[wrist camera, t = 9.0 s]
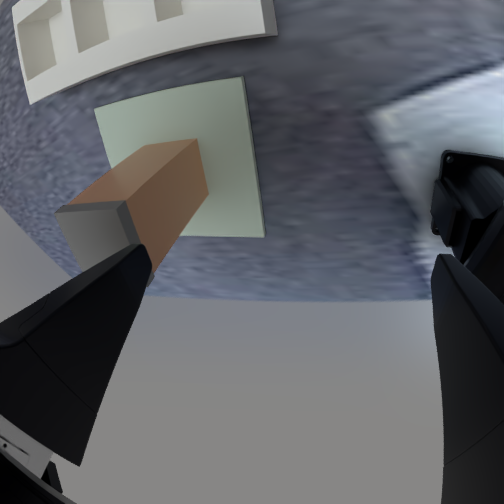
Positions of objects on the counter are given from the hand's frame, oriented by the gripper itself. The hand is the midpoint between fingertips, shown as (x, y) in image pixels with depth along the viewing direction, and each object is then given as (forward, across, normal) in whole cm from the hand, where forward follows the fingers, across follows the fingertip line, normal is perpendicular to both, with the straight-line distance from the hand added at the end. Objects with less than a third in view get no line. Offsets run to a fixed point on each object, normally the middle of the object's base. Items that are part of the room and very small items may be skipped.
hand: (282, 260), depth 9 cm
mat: (+13, +10, +2) cm, 17 cm away
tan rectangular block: (+12, +10, +2) cm, 16 cm away
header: (+13, +10, -11) cm, 20 cm away
